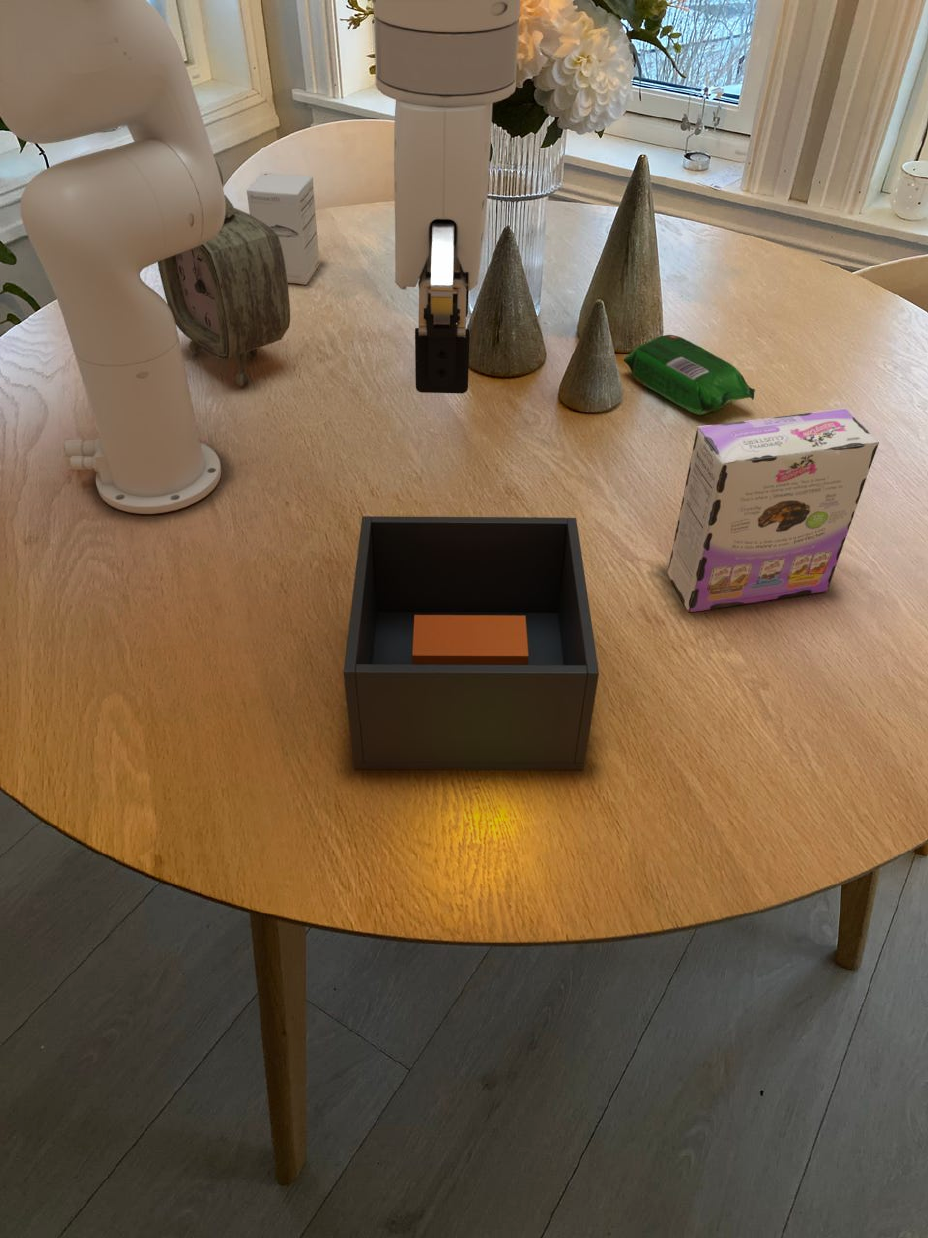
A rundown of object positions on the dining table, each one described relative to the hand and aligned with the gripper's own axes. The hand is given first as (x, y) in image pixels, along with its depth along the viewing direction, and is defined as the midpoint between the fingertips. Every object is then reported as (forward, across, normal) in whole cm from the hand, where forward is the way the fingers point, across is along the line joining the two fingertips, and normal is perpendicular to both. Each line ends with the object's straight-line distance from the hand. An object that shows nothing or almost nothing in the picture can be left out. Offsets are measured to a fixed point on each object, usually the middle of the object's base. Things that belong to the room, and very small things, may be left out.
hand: (443, 351), depth 63 cm
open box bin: (+28, +4, +2) cm, 29 cm away
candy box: (+28, -10, +28) cm, 41 cm away
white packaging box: (+30, -76, -23) cm, 85 cm away
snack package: (+29, -44, +28) cm, 59 cm away
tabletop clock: (+30, -50, -26) cm, 64 cm away
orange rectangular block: (+28, +4, +2) cm, 28 cm away
